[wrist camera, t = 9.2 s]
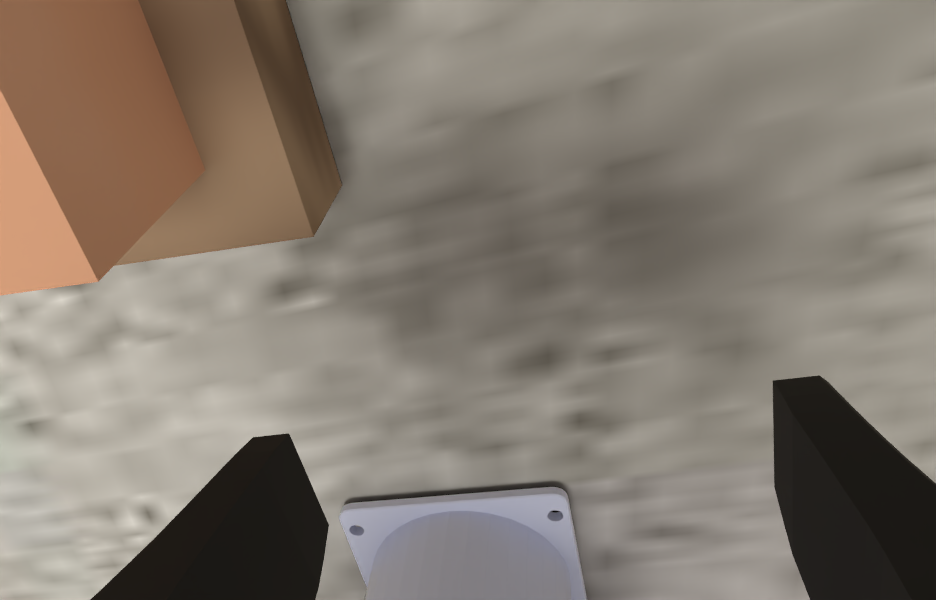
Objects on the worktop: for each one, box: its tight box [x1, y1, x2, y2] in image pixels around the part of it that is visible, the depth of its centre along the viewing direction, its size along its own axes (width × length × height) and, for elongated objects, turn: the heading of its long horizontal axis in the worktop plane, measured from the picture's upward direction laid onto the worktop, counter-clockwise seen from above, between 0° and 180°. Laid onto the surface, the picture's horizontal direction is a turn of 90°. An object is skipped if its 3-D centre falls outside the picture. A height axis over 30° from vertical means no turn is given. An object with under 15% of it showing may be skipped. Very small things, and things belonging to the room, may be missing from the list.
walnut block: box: [114, 0, 342, 266], centre depth 18 cm, size 9×9×3 cm
